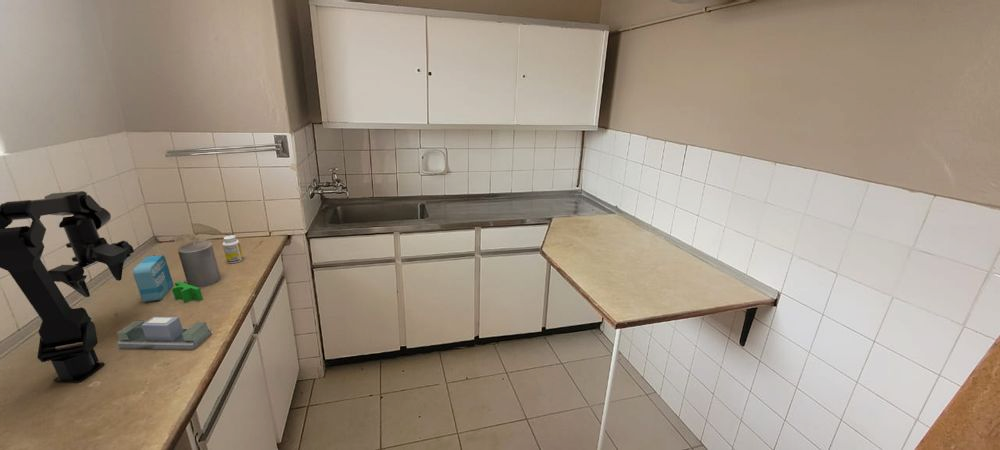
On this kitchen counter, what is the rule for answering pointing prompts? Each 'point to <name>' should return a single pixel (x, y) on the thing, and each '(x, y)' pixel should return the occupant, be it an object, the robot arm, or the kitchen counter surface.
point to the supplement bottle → (232, 249)
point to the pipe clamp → (186, 292)
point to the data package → (153, 278)
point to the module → (162, 329)
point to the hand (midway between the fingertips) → (103, 288)
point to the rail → (188, 340)
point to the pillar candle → (199, 263)
